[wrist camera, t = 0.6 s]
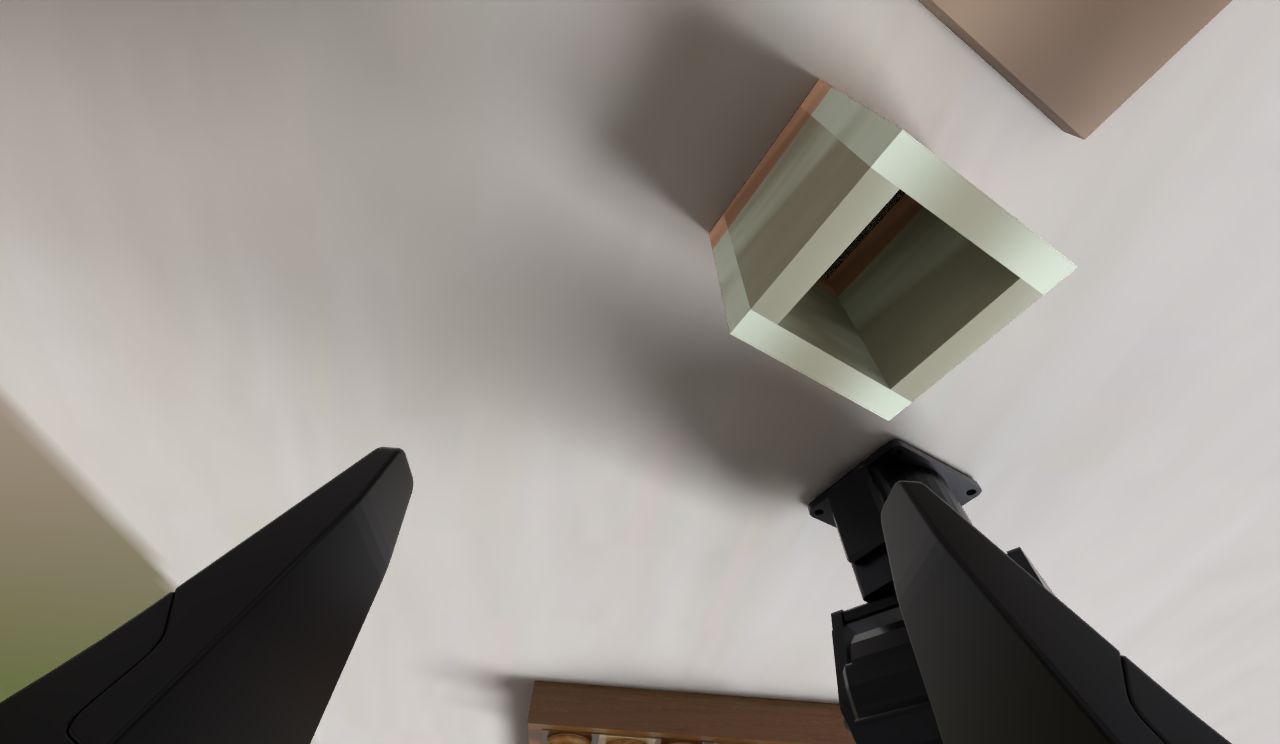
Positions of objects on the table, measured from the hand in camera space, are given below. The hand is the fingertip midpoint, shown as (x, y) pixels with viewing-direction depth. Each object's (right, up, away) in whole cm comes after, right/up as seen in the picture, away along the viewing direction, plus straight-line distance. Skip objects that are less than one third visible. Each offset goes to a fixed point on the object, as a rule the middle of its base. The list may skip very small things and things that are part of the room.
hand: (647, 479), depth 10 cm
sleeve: (+7, +8, +9) cm, 14 cm away
